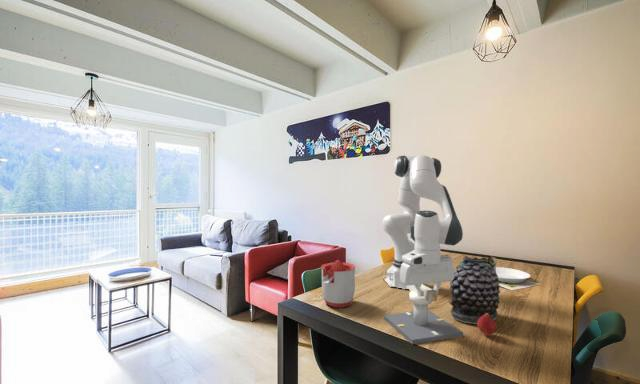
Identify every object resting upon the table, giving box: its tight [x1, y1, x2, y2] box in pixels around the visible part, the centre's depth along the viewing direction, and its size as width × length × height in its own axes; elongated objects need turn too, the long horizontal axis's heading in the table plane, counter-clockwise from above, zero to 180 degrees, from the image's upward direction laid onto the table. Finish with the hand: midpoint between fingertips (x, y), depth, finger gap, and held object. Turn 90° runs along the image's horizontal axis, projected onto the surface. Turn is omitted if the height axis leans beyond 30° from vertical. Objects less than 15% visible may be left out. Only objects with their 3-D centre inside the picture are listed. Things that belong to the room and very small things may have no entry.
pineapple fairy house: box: [448, 255, 501, 325], centre depth 114 cm, size 21×15×25 cm
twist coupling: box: [406, 284, 438, 306], centre depth 107 cm, size 15×8×6 cm, turn 14°
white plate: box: [496, 266, 531, 284], centre depth 166 cm, size 25×25×4 cm
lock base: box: [383, 303, 464, 345], centre depth 107 cm, size 20×20×10 cm
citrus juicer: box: [320, 259, 356, 308], centre depth 130 cm, size 16×17×20 cm
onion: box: [476, 313, 498, 337], centre depth 100 cm, size 6×6×8 cm
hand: (427, 295), depth 103 cm, fingers open, 4 cm apart
